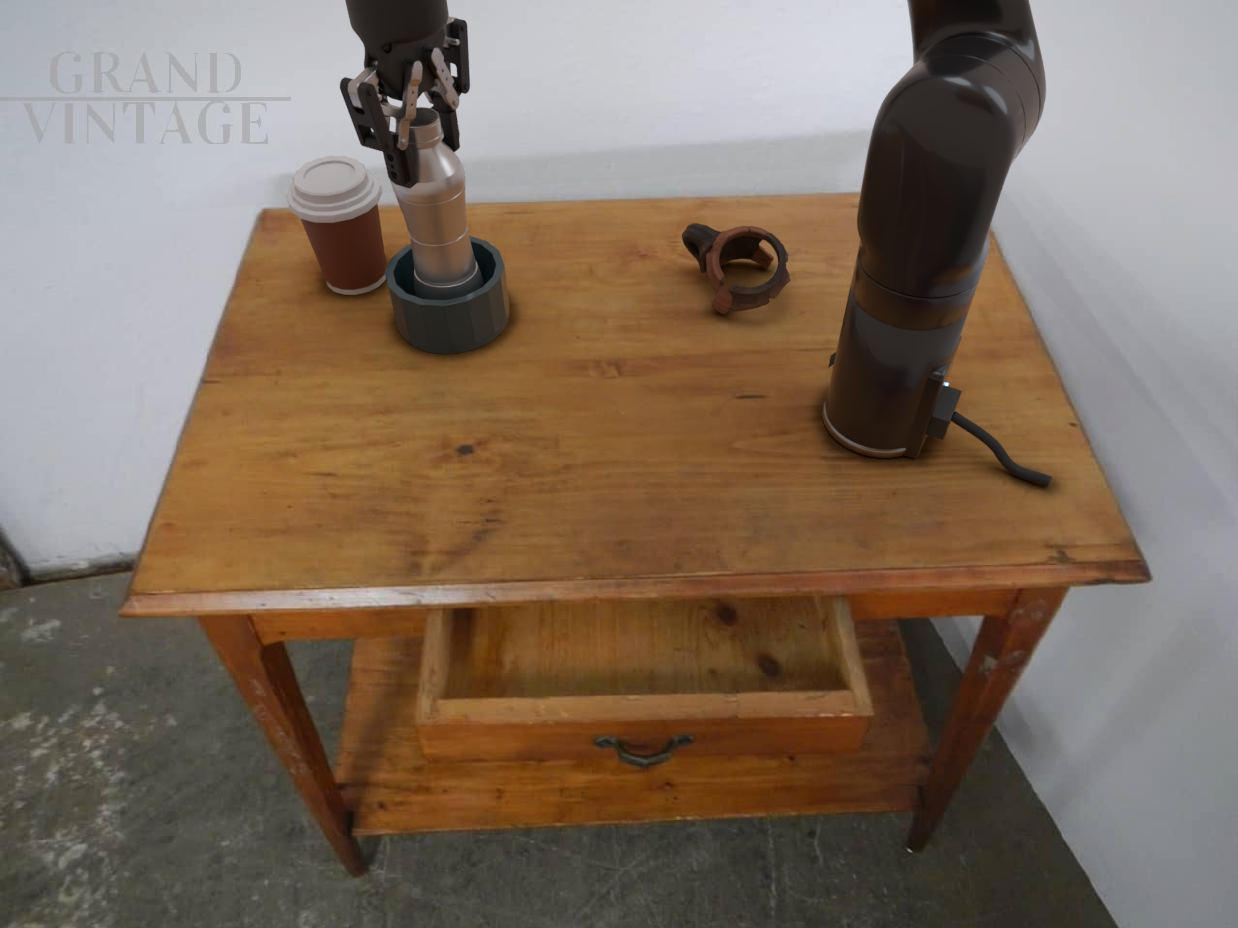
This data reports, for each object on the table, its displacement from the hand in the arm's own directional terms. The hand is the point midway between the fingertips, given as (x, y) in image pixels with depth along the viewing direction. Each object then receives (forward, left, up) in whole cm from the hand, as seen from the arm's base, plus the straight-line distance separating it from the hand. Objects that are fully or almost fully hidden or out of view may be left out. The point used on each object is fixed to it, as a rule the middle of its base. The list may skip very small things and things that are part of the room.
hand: (427, 165), depth 81 cm
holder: (0, 0, -17) cm, 17 cm away
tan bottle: (0, 0, -16) cm, 16 cm away
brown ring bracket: (-23, -17, -17) cm, 33 cm away
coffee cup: (+13, -1, -17) cm, 22 cm away
